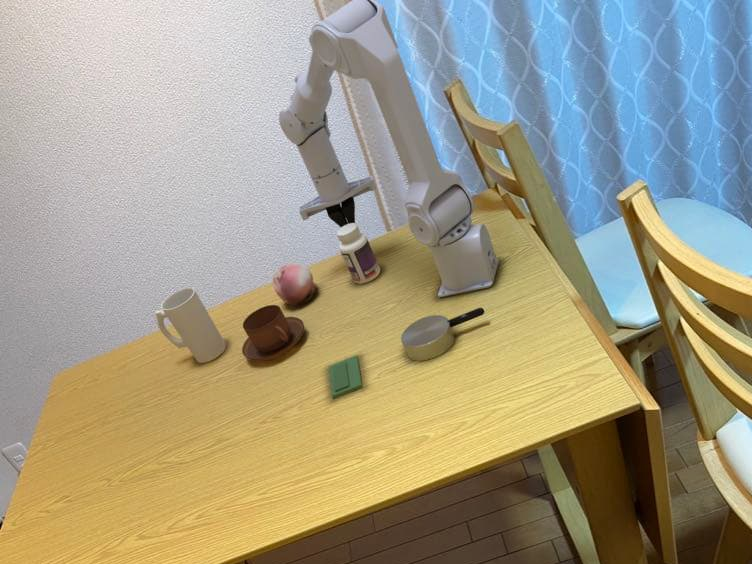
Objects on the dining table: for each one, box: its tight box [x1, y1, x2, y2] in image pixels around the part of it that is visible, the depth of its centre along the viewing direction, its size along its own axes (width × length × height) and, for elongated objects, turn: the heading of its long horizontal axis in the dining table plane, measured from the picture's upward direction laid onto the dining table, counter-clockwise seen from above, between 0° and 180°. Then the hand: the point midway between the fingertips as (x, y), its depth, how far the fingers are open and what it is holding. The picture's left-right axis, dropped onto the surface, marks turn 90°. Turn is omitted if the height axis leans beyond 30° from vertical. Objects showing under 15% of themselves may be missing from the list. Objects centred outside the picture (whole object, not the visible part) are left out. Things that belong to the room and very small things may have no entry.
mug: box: [154, 286, 227, 364], centre depth 157 cm, size 10×7×12 cm, turn 84°
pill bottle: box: [336, 222, 381, 285], centre depth 156 cm, size 5×5×10 cm
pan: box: [400, 307, 485, 362], centre depth 134 cm, size 14×8×3 cm, turn 97°
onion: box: [272, 263, 318, 306], centre depth 160 cm, size 8×8×7 cm
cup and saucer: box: [241, 304, 305, 362], centre depth 151 cm, size 12×12×6 cm
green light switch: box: [328, 354, 363, 400], centre depth 137 cm, size 5×9×1 cm, turn 7°
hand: (355, 238), depth 161 cm, fingers closed
